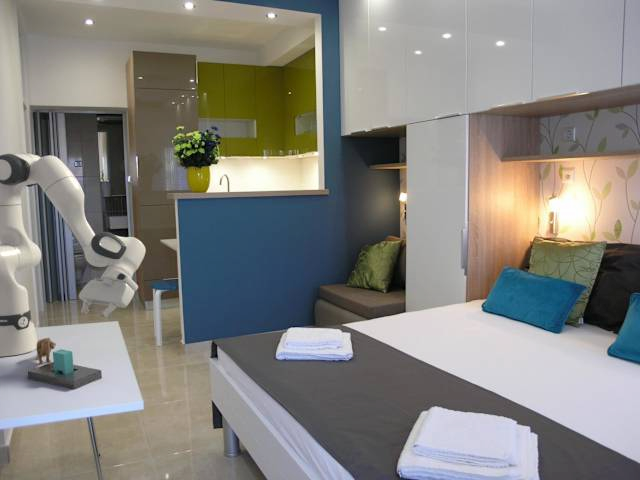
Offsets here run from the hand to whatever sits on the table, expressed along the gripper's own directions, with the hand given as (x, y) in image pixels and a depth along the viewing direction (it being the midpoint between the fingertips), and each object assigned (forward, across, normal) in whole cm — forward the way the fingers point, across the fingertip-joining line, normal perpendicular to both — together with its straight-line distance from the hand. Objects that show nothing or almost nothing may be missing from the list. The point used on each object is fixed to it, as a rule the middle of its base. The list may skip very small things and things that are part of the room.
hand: (93, 314), depth 184 cm
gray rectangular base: (+21, +1, +3) cm, 21 cm away
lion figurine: (+15, -20, +10) cm, 27 cm away
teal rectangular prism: (+21, +1, +3) cm, 22 cm away
